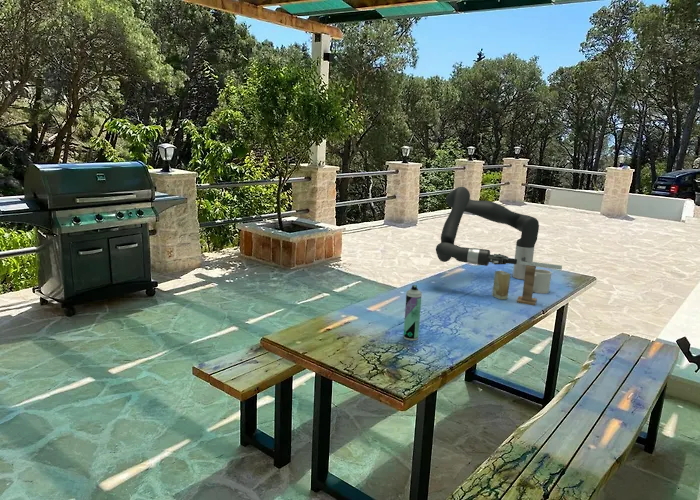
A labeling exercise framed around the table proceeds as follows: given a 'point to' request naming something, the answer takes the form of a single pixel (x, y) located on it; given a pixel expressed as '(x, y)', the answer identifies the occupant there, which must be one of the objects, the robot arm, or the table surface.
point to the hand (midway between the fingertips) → (516, 261)
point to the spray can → (412, 314)
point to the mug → (542, 281)
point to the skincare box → (501, 285)
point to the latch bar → (539, 264)
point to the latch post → (528, 287)
